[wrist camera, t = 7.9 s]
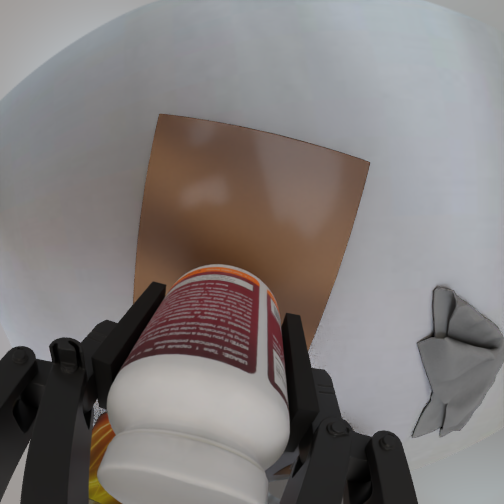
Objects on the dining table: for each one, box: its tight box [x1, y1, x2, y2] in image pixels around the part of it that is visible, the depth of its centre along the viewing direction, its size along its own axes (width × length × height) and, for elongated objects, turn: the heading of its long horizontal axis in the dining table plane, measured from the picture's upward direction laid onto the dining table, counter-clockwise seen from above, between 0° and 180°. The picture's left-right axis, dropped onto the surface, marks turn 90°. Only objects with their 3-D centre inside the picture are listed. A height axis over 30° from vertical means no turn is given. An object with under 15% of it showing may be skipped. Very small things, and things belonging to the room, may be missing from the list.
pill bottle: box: [97, 264, 290, 504], centre depth 10 cm, size 6×6×11 cm
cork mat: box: [133, 114, 370, 350], centre depth 20 cm, size 20×14×1 cm
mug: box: [89, 412, 122, 504], centre depth 21 cm, size 10×14×12 cm
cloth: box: [412, 287, 504, 438], centre depth 22 cm, size 26×14×2 cm, turn 17°
